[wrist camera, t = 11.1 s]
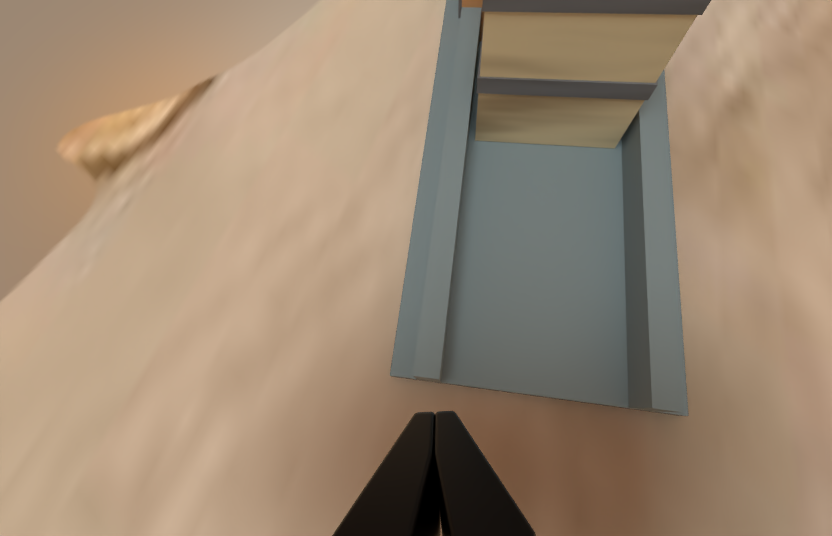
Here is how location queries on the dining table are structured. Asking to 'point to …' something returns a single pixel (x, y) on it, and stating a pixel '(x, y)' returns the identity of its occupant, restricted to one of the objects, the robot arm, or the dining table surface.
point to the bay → (541, 254)
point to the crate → (573, 66)
